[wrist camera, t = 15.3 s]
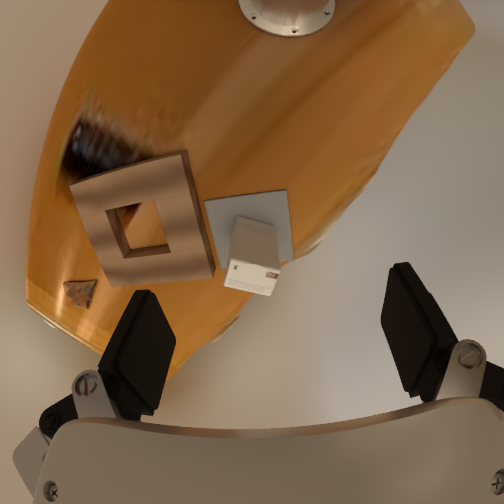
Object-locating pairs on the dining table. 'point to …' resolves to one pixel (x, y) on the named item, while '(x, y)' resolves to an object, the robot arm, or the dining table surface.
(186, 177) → the walnut holder
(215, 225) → the grey mat
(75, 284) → the shard
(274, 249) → the skincare box
